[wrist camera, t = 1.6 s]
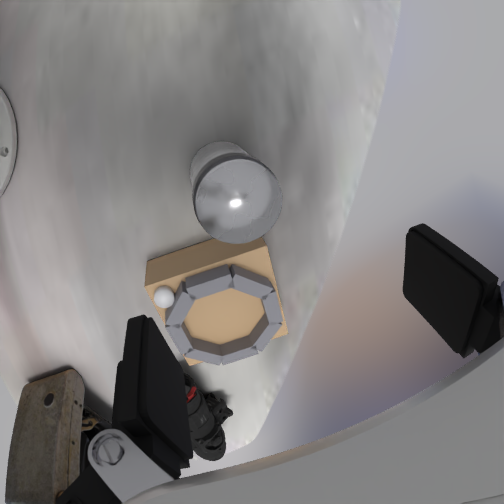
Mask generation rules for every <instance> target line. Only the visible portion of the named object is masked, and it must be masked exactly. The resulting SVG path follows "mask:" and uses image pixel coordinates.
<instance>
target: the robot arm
mask: <svg viewBox="0 0 504 504" xmlns="http://www.w3.org/2000/svg"><path fill="white" fill-rule="evenodd" d="M7 149H8V150H7ZM16 149H17V133H16V123H15V118H14V114H13V110H12V108H11V105H10V103H9V100H8V99H7V97H6V95H5V94H4V92H3V91H2V90H1V89H0V196H1V195H2V193H3V192H4V190H5V188H6V186H7V184H8V182H9V180H10V177H11V174H12V171H13V168H14V163H15V158H16ZM8 151H9V152H8ZM405 249H406V250H405V267H404V281H403V294H404V296H405V298H406V299H407V300H408V301H409V302H410V303H411V304H412V305H413V306H414V307H415V309H417V311H418V312H419V313H420V314H421V315H422V316H423V317H424V318H425V319H426V320H427V322H429V324H430V325H431V326H432V327H433V328H434V329H435V330H436V331H437V332H438V334H439V335H440V336H441V337H442V338H443V339H444V340H445V342H446V343H447V344H448V345H449V346H450V347H451V348H452V350H453V351H455V352H456V353H459V354H460V355H461V356H462V357H463V358H465V357H467V356H468V355H469V354H471V353H473V351H474V349H475V350H476V351H477V352H478V356H477V357H476V358H474V359H473V360H471V361H470V362H468V363H467V364H465V365H464V366H462V367H461V368H459V369H458V370H456V371H455V372H453V373H452V374H450V375H448V376H447V377H445V378H444V379H442V380H440V381H439V382H437V383H435V384H434V385H432V386H430V387H428V388H427V389H425V390H424V391H422V392H420V393H418V394H416V395H414V396H413V397H411V398H409V399H407V400H405V401H403V402H401V403H399V404H398V405H396V406H394V407H392V408H390V409H388V410H386V411H384V412H382V413H380V414H377V415H376V416H373V417H371V418H369V419H367V420H365V421H363V422H360V423H358V424H356V425H354V426H351V427H349V428H346V429H344V430H342V431H339V432H337V433H334V434H332V435H329V436H327V437H324V438H322V439H319V440H316V441H313V442H311V443H308V444H305V445H302V446H299V447H296V448H294V449H290V450H287V451H284V452H281V453H278V454H275V455H271V456H268V457H265V458H261V459H257V460H254V461H250V462H247V463H244V464H239V465H235V466H232V467H227V468H224V469H219V470H215V471H210V472H206V473H202V474H197V475H193V476H189V477H184V478H179V477H180V475H181V471H180V469H183V468H188V467H190V464H189V459H192V458H193V450H192V443H191V435H190V427H189V418H188V409H187V400H186V390H185V379H184V373H183V370H182V368H181V366H180V364H179V363H178V361H177V359H176V358H175V356H174V354H173V353H172V351H171V349H170V348H169V346H168V344H167V343H166V341H165V339H164V337H163V336H162V334H161V332H160V330H159V329H158V327H157V325H156V323H155V322H154V320H153V318H152V317H149V318H147V317H146V316H145V315H141V316H137V317H134V318H130V319H129V320H128V323H127V330H126V337H125V345H124V353H123V361H120V362H119V363H118V366H117V374H116V383H115V393H114V404H113V417H112V429H106V430H104V431H101V432H100V433H98V434H97V435H96V436H95V437H94V438H93V439H92V440H91V442H90V444H89V447H88V459H89V461H90V463H91V464H90V465H89V466H88V467H87V468H86V469H85V470H84V471H83V472H82V473H81V474H80V475H79V476H78V477H77V478H76V479H75V481H74V482H73V483H72V484H71V485H70V486H69V487H68V488H67V489H66V490H65V491H64V492H63V493H62V494H61V495H60V496H59V497H58V499H57V500H56V503H55V504H504V281H503V282H502V283H501V286H499V285H497V282H498V277H497V276H495V275H494V274H493V273H492V272H491V271H489V270H488V269H487V268H485V267H484V266H483V265H482V264H480V263H479V262H478V261H476V260H475V259H474V258H472V257H471V256H470V255H468V254H467V253H466V252H464V251H463V250H461V249H460V248H459V247H457V246H456V245H455V244H453V243H452V242H450V241H449V240H448V239H446V238H445V237H443V236H442V235H440V234H439V233H437V232H436V231H435V230H433V229H431V228H430V227H429V226H427V225H426V224H419V225H417V226H414V227H411V228H410V229H409V231H408V233H407V235H406V248H405Z"/></svg>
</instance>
